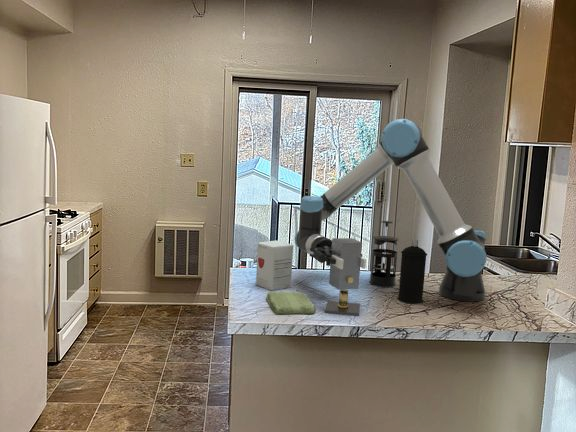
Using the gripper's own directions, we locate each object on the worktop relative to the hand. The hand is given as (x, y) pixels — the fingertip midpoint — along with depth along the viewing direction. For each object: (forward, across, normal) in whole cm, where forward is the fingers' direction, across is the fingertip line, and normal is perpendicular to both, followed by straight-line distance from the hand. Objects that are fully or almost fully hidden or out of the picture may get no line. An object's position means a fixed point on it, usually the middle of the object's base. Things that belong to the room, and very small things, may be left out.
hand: (353, 264), depth 157 cm
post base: (-5, 0, -15) cm, 16 cm away
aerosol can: (-9, -27, -15) cm, 32 cm away
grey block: (-5, 0, -8) cm, 9 cm away
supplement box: (-34, +12, -16) cm, 39 cm away
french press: (-30, -29, -15) cm, 44 cm away
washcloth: (-12, +14, -16) cm, 24 cm away
